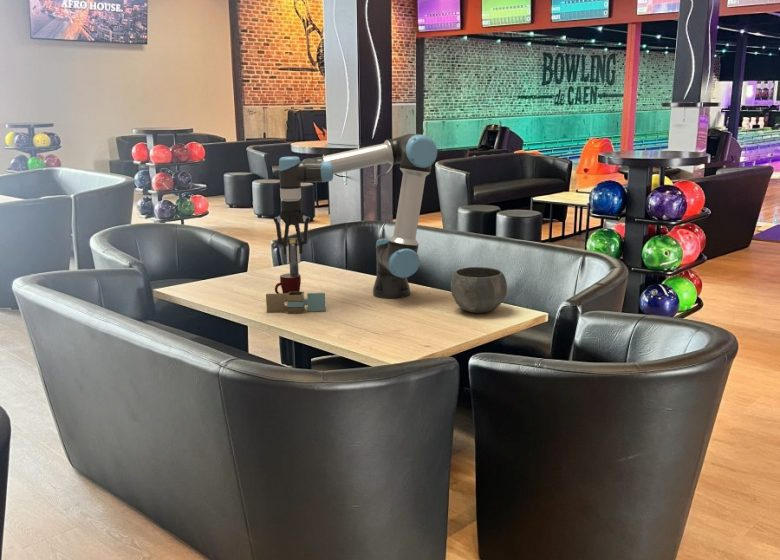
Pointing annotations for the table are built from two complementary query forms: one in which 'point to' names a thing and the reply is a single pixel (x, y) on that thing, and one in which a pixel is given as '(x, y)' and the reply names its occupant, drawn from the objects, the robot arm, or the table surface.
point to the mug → (289, 283)
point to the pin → (293, 257)
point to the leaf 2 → (311, 302)
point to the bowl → (478, 289)
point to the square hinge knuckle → (277, 302)
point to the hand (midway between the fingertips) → (293, 262)
